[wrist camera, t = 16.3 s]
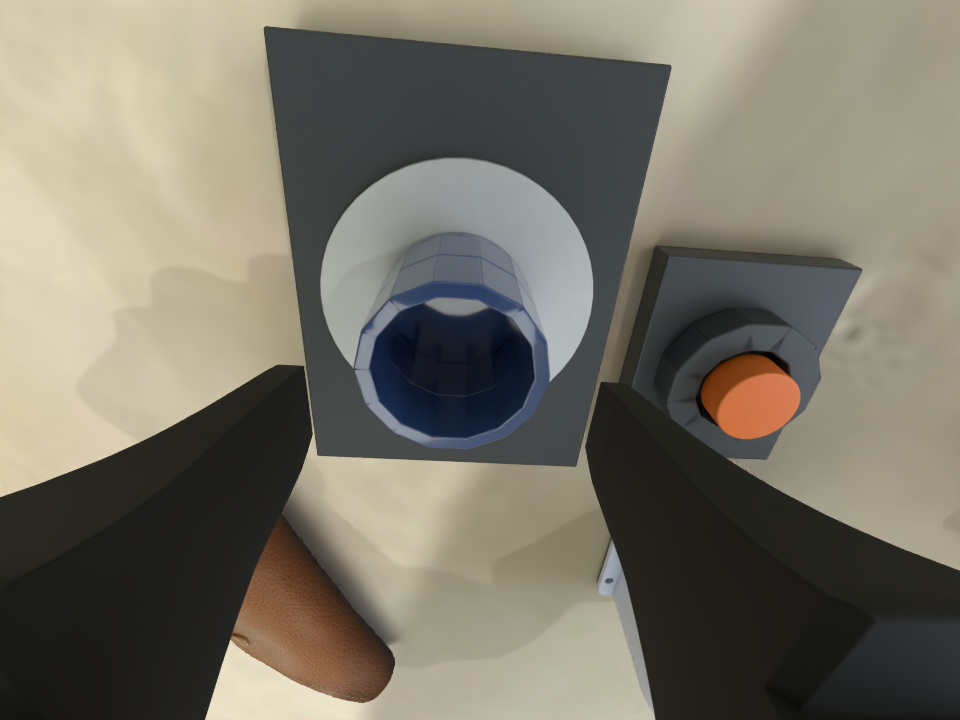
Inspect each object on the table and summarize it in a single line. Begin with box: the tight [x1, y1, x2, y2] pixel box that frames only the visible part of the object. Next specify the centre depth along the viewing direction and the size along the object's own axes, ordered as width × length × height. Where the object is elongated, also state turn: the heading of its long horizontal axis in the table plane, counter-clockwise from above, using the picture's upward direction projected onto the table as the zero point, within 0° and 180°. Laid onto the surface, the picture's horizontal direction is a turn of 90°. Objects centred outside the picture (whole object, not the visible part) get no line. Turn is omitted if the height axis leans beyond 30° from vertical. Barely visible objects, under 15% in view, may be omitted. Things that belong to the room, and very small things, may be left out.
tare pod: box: [620, 246, 862, 460], centre depth 20 cm, size 10×8×3 cm
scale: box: [264, 26, 671, 467], centre depth 18 cm, size 16×12×3 cm
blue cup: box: [353, 232, 550, 449], centre depth 15 cm, size 5×5×5 cm
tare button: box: [701, 354, 800, 439], centre depth 19 cm, size 3×3×2 cm
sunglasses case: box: [231, 514, 395, 703], centre depth 28 cm, size 18×7×7 cm
